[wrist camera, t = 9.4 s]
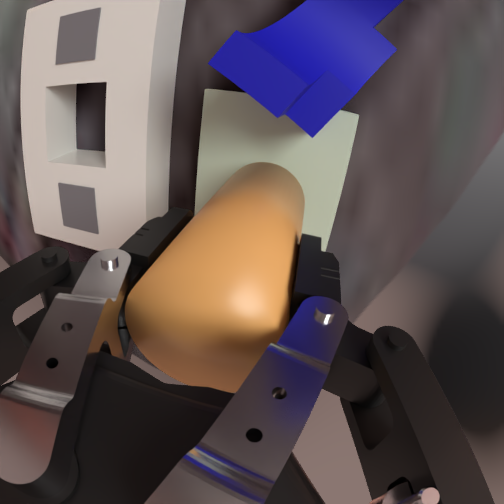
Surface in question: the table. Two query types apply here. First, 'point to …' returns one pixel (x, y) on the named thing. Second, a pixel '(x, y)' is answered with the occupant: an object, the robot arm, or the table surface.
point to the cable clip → (309, 58)
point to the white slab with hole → (116, 120)
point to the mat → (274, 153)
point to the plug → (223, 282)
